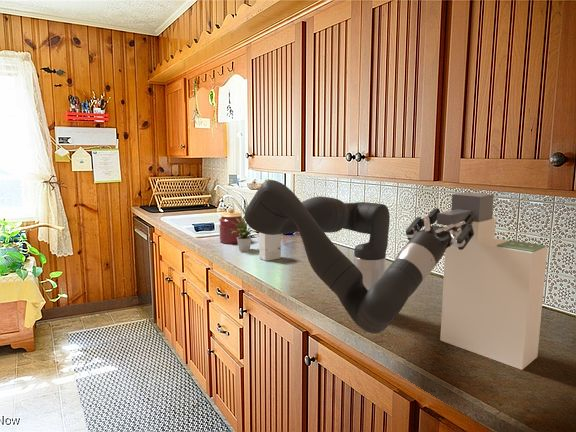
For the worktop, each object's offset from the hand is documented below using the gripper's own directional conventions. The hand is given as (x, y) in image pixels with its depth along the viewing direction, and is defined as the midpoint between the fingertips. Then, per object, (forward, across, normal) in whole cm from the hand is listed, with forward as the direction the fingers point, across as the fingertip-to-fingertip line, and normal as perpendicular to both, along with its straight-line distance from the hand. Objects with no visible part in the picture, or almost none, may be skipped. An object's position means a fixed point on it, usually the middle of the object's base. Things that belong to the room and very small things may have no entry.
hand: (453, 213), depth 101 cm
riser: (-10, -6, +34) cm, 36 cm away
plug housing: (+2, 0, +4) cm, 5 cm away
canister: (+9, +139, +45) cm, 146 cm away
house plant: (+3, +120, +42) cm, 127 cm away
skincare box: (+3, +98, +42) cm, 106 cm away
